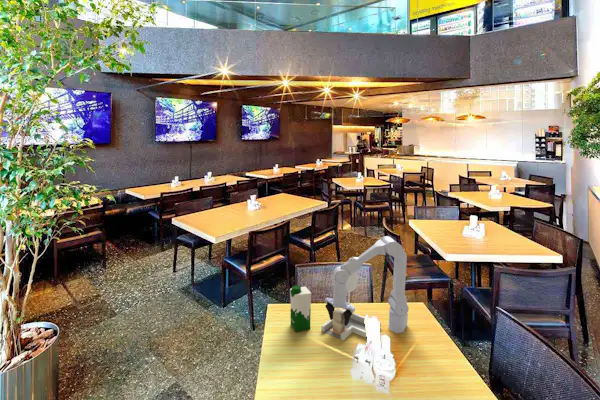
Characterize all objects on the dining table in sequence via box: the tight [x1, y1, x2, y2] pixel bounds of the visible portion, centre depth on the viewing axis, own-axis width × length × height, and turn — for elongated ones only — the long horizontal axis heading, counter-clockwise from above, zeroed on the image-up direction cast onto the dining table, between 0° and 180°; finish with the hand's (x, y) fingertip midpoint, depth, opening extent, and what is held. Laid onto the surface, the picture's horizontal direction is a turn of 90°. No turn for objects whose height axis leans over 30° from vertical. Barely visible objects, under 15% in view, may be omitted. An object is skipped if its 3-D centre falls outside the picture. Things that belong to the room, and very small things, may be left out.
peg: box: [333, 308, 345, 333], centre depth 141 cm, size 4×4×9 cm
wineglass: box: [341, 271, 359, 310], centre depth 161 cm, size 9×9×21 cm
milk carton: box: [289, 285, 312, 333], centre depth 144 cm, size 9×9×20 cm
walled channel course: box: [320, 309, 382, 341], centre depth 142 cm, size 19×20×3 cm
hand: (339, 321), depth 141 cm, fingers open, 7 cm apart
